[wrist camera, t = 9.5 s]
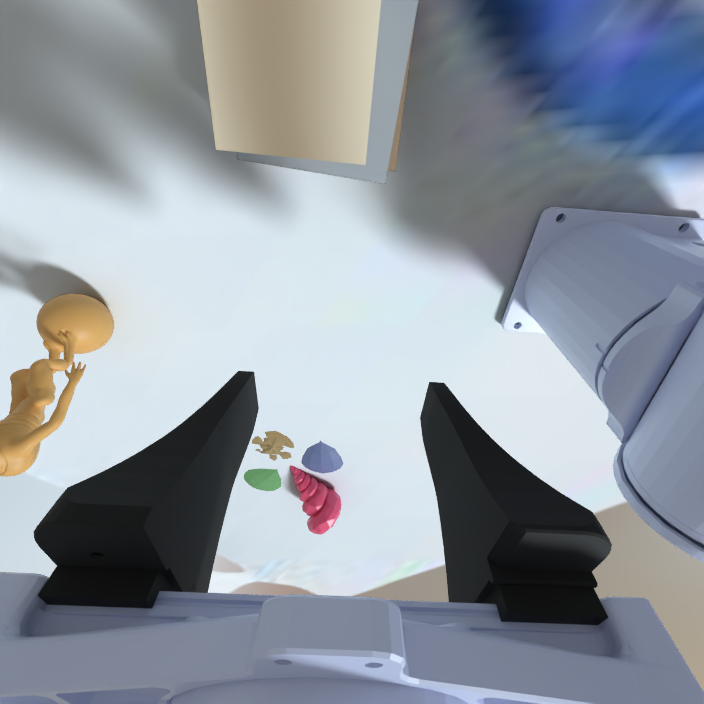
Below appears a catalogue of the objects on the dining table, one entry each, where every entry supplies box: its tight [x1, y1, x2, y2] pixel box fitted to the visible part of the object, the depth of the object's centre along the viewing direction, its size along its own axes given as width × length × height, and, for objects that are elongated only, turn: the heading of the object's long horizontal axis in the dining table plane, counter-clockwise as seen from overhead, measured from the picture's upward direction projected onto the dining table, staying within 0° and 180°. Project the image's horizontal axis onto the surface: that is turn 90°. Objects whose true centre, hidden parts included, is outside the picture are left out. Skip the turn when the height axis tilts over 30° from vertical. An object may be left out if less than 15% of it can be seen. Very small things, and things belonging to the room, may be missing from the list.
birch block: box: [197, 0, 381, 165], centre depth 10 cm, size 4×4×5 cm
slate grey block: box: [237, 0, 419, 184], centre depth 13 cm, size 6×6×3 cm
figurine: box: [0, 294, 114, 476], centre depth 20 cm, size 8×6×12 cm
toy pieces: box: [244, 431, 343, 534], centre depth 33 cm, size 12×11×4 cm
